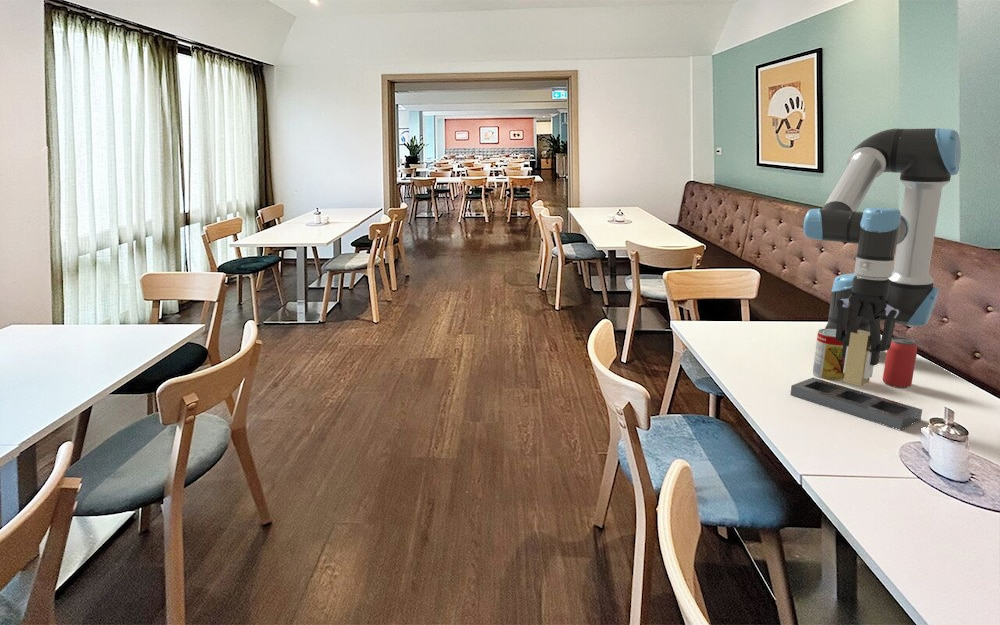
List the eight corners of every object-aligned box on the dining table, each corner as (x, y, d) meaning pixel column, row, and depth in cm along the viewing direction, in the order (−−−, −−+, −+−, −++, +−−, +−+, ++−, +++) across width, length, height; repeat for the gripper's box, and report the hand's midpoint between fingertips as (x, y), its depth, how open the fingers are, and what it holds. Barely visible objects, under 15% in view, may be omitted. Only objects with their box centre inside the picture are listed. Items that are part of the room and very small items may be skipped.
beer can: (910, 390, 173) (918, 345, 170) (881, 385, 177) (888, 341, 174) (911, 382, 179) (918, 339, 176) (882, 378, 182) (889, 335, 179)
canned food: (851, 379, 181) (857, 336, 178) (825, 381, 179) (831, 337, 176) (831, 369, 188) (837, 327, 185) (806, 371, 187) (811, 329, 184)
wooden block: (851, 377, 163) (859, 329, 160) (868, 382, 160) (876, 333, 157) (843, 381, 161) (850, 332, 158) (860, 386, 158) (868, 336, 155)
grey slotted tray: (811, 386, 175) (812, 377, 175) (920, 419, 155) (922, 409, 155) (790, 394, 170) (791, 385, 169) (900, 430, 149) (902, 419, 149)
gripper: (826, 272, 159) (814, 367, 165) (904, 285, 146) (887, 388, 151) (843, 269, 163) (830, 362, 169) (919, 281, 150) (902, 381, 156)
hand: (857, 374), depth 160 cm, fingers closed on wooden block, 4 cm apart
